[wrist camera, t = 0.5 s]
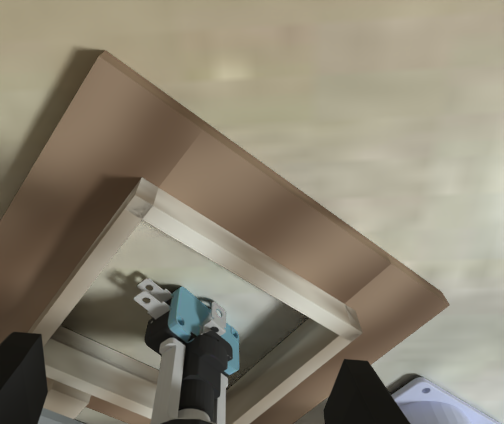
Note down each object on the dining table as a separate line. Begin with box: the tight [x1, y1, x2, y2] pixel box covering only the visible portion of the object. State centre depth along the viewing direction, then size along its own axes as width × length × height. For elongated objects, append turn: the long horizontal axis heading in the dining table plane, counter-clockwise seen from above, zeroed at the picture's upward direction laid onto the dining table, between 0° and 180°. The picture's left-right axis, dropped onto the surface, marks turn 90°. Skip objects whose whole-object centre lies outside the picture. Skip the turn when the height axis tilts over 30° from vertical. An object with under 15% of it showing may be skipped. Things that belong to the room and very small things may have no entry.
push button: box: [134, 278, 239, 424], centre depth 19 cm, size 7×5×10 cm
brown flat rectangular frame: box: [0, 50, 449, 424], centre depth 22 cm, size 20×18×3 cm
